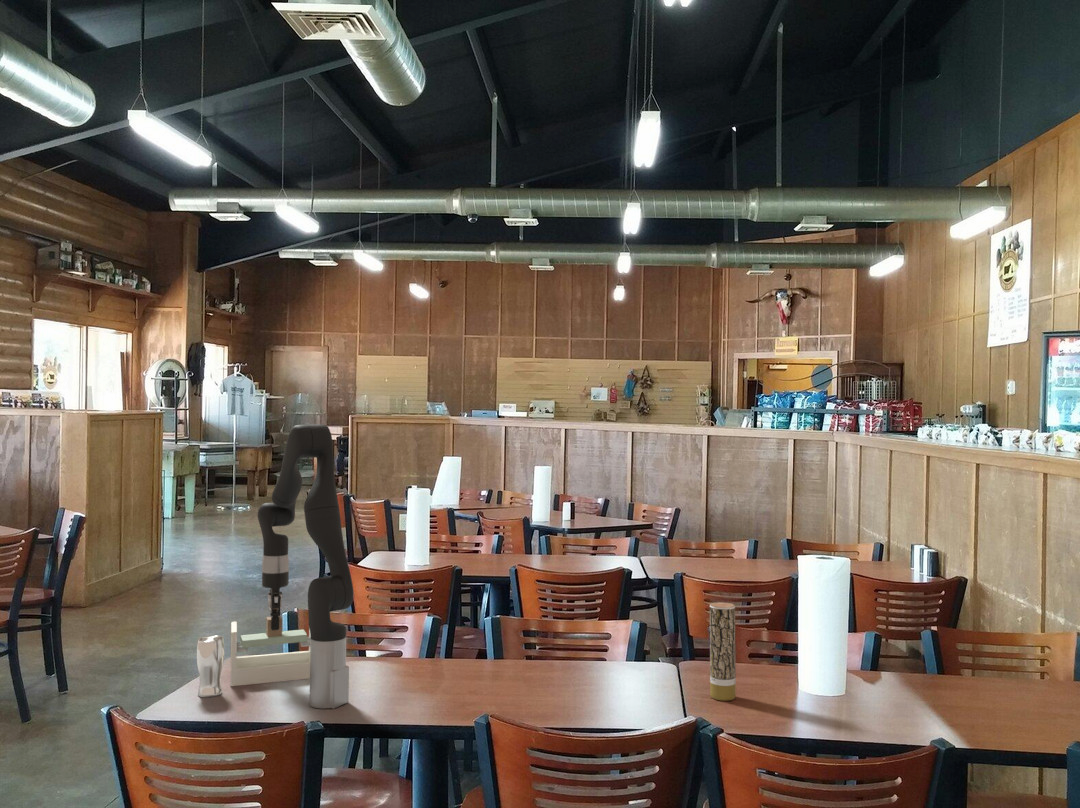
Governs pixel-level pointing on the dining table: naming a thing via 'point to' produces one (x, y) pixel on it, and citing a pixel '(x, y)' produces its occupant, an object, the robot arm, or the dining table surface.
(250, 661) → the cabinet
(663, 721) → the dining table surface
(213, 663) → the beer glass
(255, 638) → the shelf board
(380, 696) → the dining table surface
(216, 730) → the dining table surface
